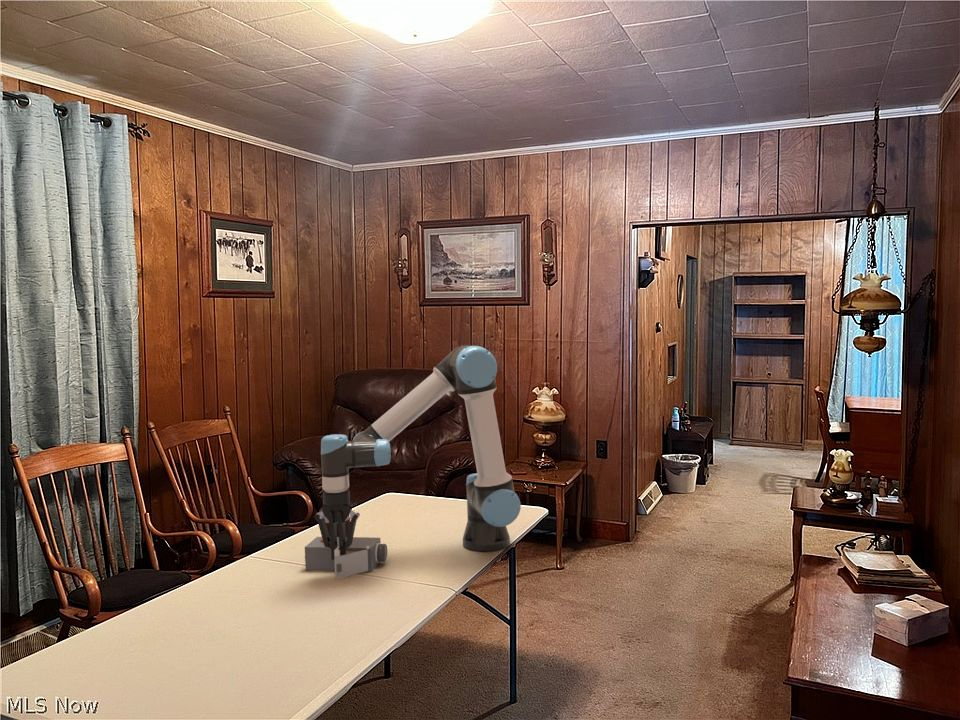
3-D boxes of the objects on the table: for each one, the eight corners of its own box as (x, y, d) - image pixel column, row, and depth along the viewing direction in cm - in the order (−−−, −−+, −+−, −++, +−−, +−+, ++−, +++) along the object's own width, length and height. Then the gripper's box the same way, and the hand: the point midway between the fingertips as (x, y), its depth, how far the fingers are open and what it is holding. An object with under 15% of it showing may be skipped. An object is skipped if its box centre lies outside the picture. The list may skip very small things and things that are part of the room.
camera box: (388, 560, 217) (387, 535, 217) (378, 573, 206) (377, 546, 206) (317, 559, 221) (316, 534, 220) (304, 571, 210) (303, 545, 209)
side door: (366, 569, 207) (366, 549, 207) (369, 571, 206) (368, 550, 206) (335, 578, 201) (334, 557, 201) (337, 579, 200) (336, 558, 200)
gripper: (362, 486, 207) (365, 566, 208) (318, 486, 209) (322, 566, 210) (354, 492, 199) (357, 576, 201) (309, 492, 201) (312, 575, 203)
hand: (339, 570), depth 205 cm, fingers closed
